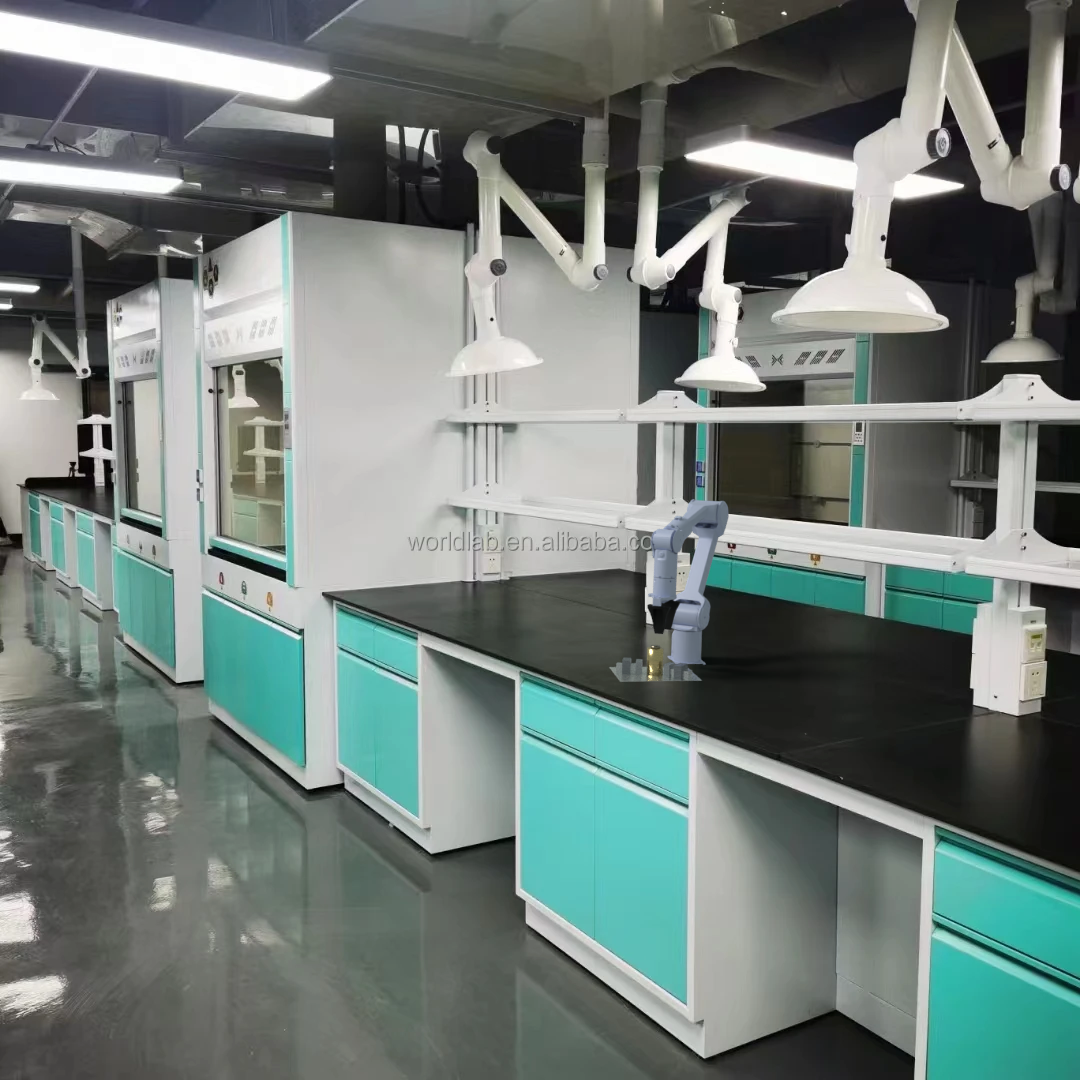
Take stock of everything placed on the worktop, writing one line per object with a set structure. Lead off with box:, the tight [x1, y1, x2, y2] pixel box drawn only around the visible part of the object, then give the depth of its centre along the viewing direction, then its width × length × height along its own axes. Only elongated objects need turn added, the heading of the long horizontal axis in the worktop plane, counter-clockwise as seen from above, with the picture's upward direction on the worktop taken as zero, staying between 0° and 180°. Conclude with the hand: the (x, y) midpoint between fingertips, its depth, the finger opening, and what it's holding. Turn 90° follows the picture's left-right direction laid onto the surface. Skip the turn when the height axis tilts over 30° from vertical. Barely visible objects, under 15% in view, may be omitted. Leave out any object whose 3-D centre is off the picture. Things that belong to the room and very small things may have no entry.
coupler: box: [646, 644, 664, 676], centre depth 252 cm, size 4×4×7 cm
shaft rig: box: [608, 657, 703, 683], centre depth 252 cm, size 15×20×4 cm
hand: (662, 631), depth 255 cm, fingers open, 7 cm apart
